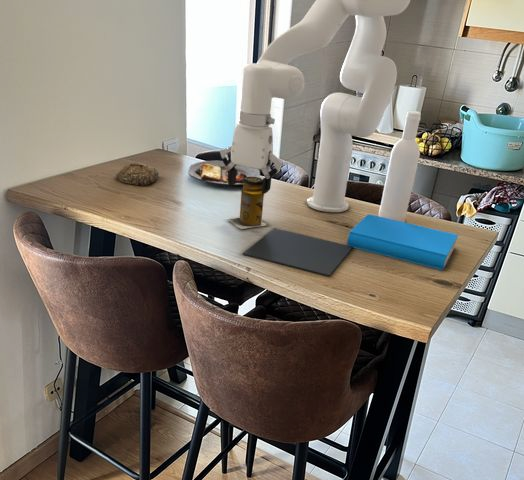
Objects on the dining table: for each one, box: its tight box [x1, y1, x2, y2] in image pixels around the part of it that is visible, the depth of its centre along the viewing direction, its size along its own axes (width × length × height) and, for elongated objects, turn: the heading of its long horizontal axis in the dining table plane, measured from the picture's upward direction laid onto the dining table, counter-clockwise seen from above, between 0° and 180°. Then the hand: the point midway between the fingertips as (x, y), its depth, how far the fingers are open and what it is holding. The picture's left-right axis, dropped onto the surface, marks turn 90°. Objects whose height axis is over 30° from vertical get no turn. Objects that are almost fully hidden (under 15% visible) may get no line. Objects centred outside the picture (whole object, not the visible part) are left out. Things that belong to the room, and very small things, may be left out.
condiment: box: [227, 177, 268, 230], centre depth 150 cm, size 7×8×12 cm
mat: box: [242, 227, 354, 278], centre depth 140 cm, size 20×22×1 cm
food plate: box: [187, 160, 261, 186], centre depth 185 cm, size 25×23×4 cm
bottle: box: [378, 110, 422, 223], centre depth 156 cm, size 8×8×30 cm
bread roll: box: [115, 162, 159, 187], centre depth 176 cm, size 13×12×5 cm
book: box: [346, 213, 459, 271], centre depth 147 cm, size 17×4×25 cm
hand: (248, 188), depth 148 cm, fingers open, 9 cm apart
